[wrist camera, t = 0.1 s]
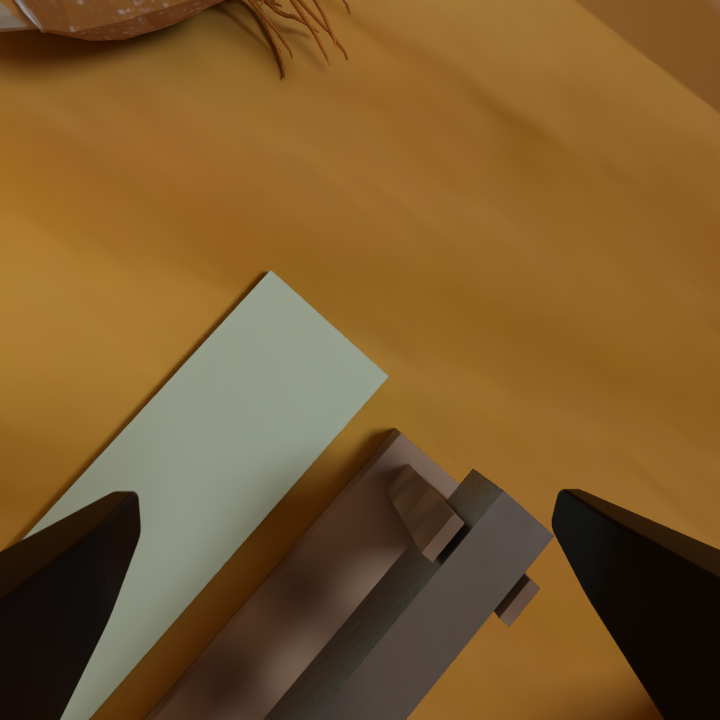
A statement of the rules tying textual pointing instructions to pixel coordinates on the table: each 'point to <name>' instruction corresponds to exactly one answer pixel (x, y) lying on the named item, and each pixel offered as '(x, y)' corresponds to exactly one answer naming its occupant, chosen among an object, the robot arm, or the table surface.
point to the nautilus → (133, 18)
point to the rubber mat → (215, 462)
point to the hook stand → (325, 586)
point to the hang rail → (419, 614)
